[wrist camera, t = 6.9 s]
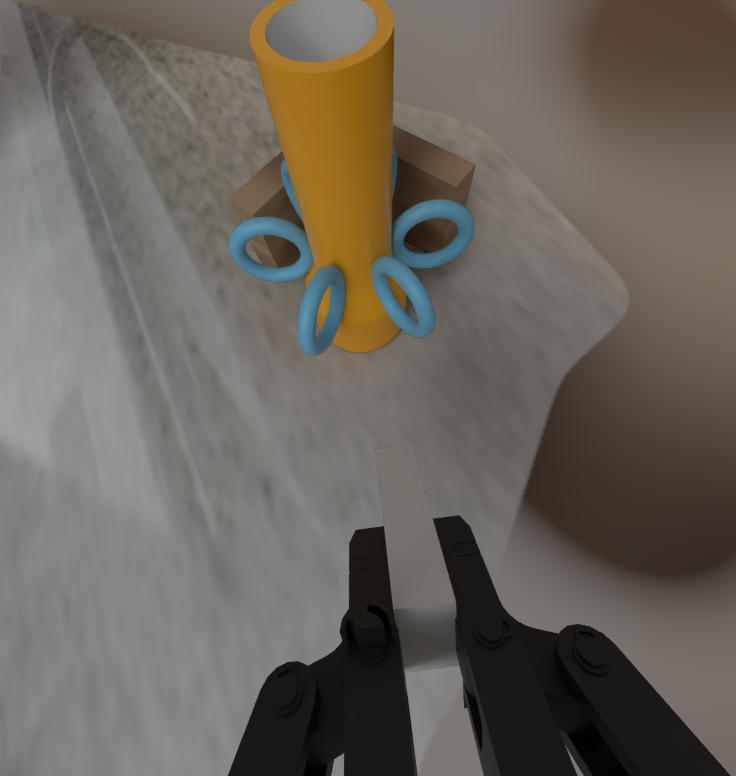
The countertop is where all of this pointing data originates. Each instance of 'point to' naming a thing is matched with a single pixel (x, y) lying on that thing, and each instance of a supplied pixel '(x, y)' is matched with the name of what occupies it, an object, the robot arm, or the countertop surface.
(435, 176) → the v block
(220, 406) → the countertop surface
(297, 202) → the yellow and blue tube
